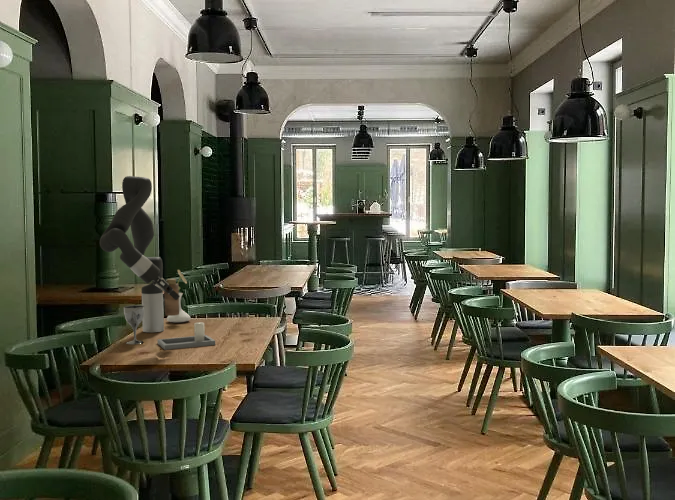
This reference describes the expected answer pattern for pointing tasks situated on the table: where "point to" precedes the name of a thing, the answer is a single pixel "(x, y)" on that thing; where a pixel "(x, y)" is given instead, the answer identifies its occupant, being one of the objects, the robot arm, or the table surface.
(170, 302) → the brown bottle
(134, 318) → the wine glass
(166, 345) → the condiment tray
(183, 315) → the flower in vase
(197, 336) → the salt shaker
